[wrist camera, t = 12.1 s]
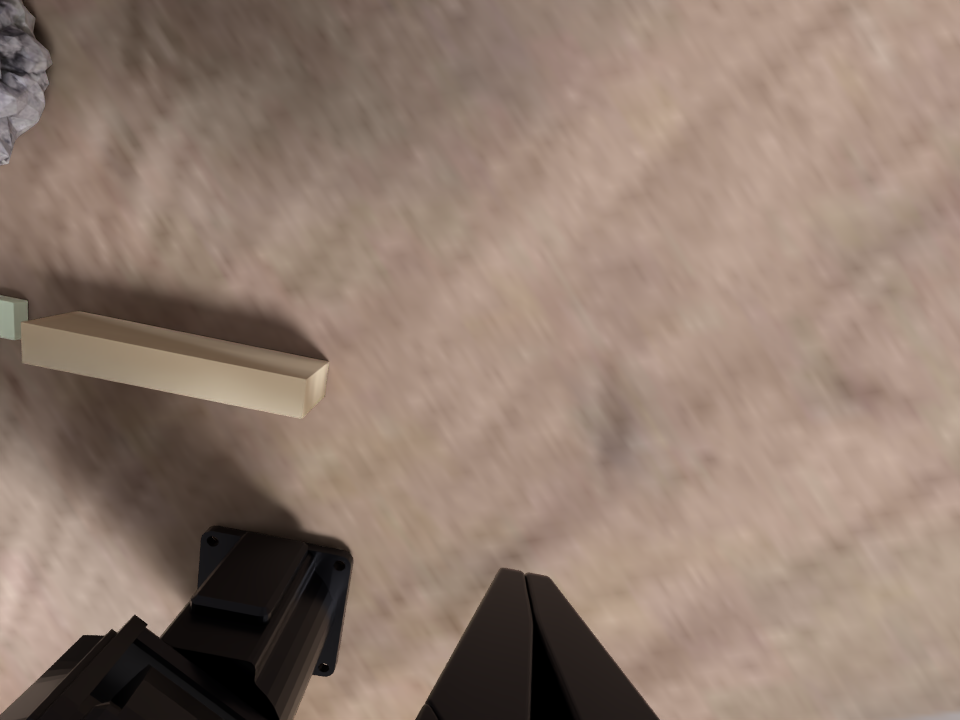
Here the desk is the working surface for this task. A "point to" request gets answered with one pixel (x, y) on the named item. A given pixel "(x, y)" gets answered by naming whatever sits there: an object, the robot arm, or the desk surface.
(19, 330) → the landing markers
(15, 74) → the mineral specimen
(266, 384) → the corridor walls
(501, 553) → the desk surface
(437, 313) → the desk surface
